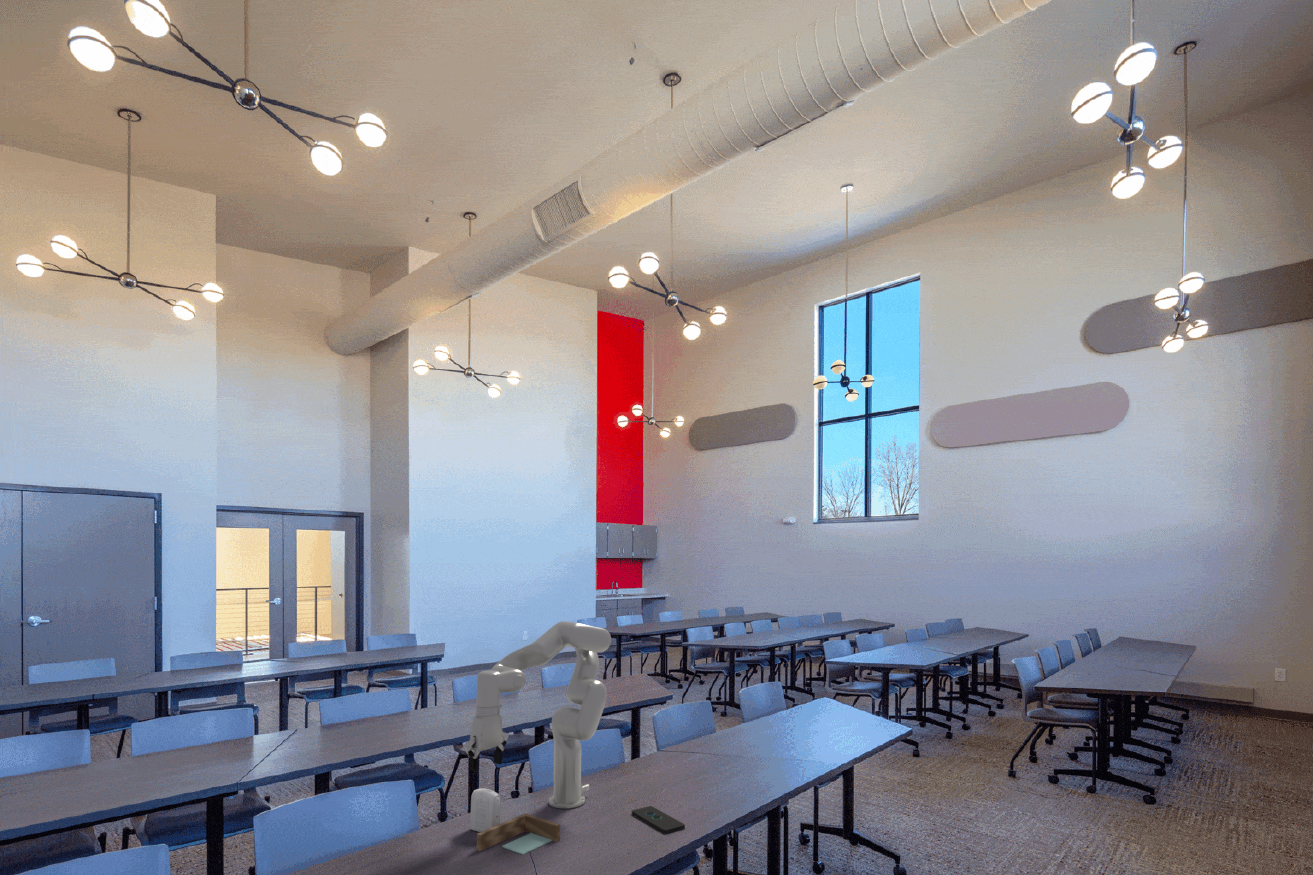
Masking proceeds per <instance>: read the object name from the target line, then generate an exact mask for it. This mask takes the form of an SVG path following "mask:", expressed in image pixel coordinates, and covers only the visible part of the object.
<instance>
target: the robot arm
mask: <svg viewBox="0 0 1313 875" xmlns="http://www.w3.org/2000/svg"><path fill="white" fill-rule="evenodd" d="M611 643H612V637H611V634H610V632H609V631H608V630H607V629H605V628H603V627H597V626H593V625H589V624H583V623H580V622H574V621H573V622H572V621H564V620H563V621H558V622H557V623H555V624H554V625H552V627H550V628H549V629H548V630H546V631H545V632H544V633H543V634H542V635H541V636H539V637H538V638H537V639H535V641H533V642H532V643H530V644H527V645H525V646H523V647H521V648H519V649H516V650H515V651H512V652H511V653H509V654H507V655H505V656H504V657H503V658H501V659H500V660H499V661H498V662H496V663H495V664H494V665H493V666H492V668H491V669H490V670H482V671H479V673H478V674H477V678H476V680H477V681H476V704H475V705H476V706H475V710H476V711H475V716H473V719H472V722H471V727H470V734H469V741H468V740H467V742H466V743H465V744H464V745H463V749H464V752H465V754H466V755H467V756H468V758H469V771H470V772H474V773H477V772H478V771H479V758H478V757H479V755H480V752H482V751H486V750H490V749H493V748H495V749H494V750H493V763H494V764H496V765H502V763H503V762H502V761H503V751H504V750H505V746H506V745H507V741H508V739H509V734H508V733H507V732H504V731H503V719H502V713H501V709H502V707H503V706H502V704H501V694H503V693H506V694H507V693H510V694H511V693H517V692H520V691H521V690H522V689H523V688H524V687H525V685H526V680H527V679H526V674H525V673H524V672H523V671H524V670H526V669H530V668H535V667H539V666H544V665H547V663H549V662H550V661H551V660H552V659H553V658H554V657H556V656H557V655H558V654H559V653H560V652H562V651H563V650H564V649H565V648H574V651H575V654H576V663H575V665H574V669H573V673H572V675H571V678H570V680H569V683H568V686H567V689H566V694H565V696H566V699H567V701H568V702H569V703H571V704H573V705H577V706H579V707H580V709H579V708H575V707H571V706H562V707H560V708H558V709H557V710H555V711H554V713H553V715H552V718H551V731H552V736H553V795H552V796H550V797H549V798H548V804H549V806H551V807H552V808H556V809H573V808H578V807H580V806H583V805H584V804H585V802H586V796H584V795H583V794H584V792H586V791H589V790H590V784H587V783H586V784H583V785H582V745H581V742H582V741H583V742H585V741H589V740H590V739H591V738H592V737H593V736H594V735H595V733H596V731H597V730H598V726H599V723H600V720H601V717H602V715H603V712H604V709H605V706H606V702H607V699H608V698H607V697H608V691H607V687H606V685H605V683H603V682H602V681H600V680H597V675H598V672H599V669H600V659H599V656H598V653H603V652H605V651H607V650H608V649H609V647H610V646H611Z"/></svg>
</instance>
